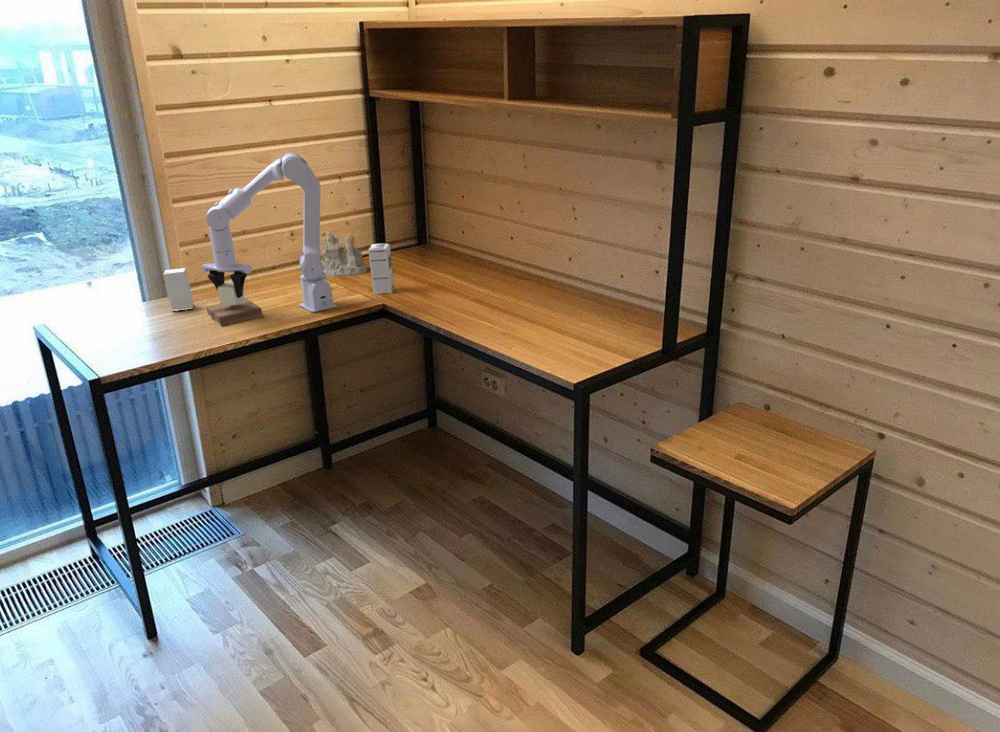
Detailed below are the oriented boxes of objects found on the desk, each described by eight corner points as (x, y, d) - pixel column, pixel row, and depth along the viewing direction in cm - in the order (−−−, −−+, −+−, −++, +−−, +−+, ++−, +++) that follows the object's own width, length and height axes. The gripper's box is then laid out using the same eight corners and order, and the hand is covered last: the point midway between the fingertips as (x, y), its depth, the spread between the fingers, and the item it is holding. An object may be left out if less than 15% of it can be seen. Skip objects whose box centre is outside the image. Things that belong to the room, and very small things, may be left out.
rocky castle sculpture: (365, 274, 265) (359, 230, 260) (316, 279, 265) (309, 234, 260) (370, 265, 280) (364, 222, 275) (323, 269, 279) (317, 226, 274)
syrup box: (392, 293, 245) (387, 247, 239) (372, 294, 245) (368, 248, 240) (394, 288, 250) (390, 242, 245) (375, 288, 251) (371, 243, 245)
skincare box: (194, 305, 241) (186, 267, 237) (193, 310, 237) (185, 271, 233) (173, 308, 240) (164, 269, 235) (171, 312, 236) (162, 273, 231)
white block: (245, 299, 231) (242, 282, 229) (235, 304, 227) (233, 288, 225) (229, 298, 233) (226, 282, 231) (220, 304, 228) (217, 287, 226)
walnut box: (262, 318, 230) (261, 308, 229) (221, 327, 224) (219, 317, 222) (248, 307, 239) (246, 298, 238) (208, 317, 233) (206, 307, 232)
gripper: (253, 247, 225) (261, 293, 231) (208, 245, 229) (216, 291, 234) (240, 253, 219) (248, 300, 224) (194, 252, 223) (203, 298, 228)
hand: (231, 296), depth 229 cm, fingers closed on white block, 5 cm apart
